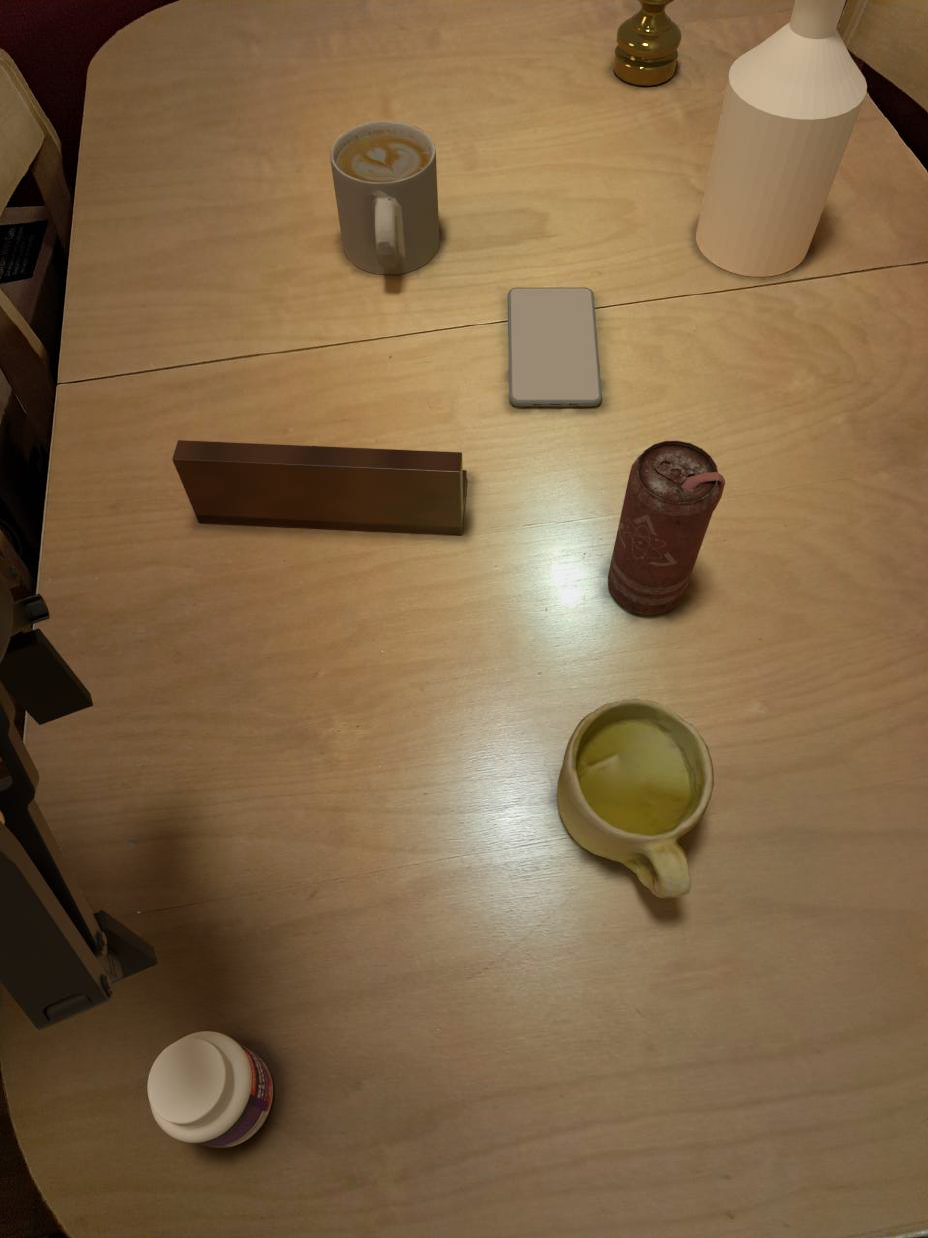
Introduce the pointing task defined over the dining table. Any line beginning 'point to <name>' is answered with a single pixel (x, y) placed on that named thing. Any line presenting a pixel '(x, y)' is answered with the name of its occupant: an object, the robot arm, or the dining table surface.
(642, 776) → the mug
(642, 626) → the dining table surface
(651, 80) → the salt shaker
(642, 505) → the can
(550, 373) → the smartphone
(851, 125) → the bottle
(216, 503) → the brown long rectangular block
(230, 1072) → the pill bottle
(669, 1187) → the dining table surface
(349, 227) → the coffee mug
